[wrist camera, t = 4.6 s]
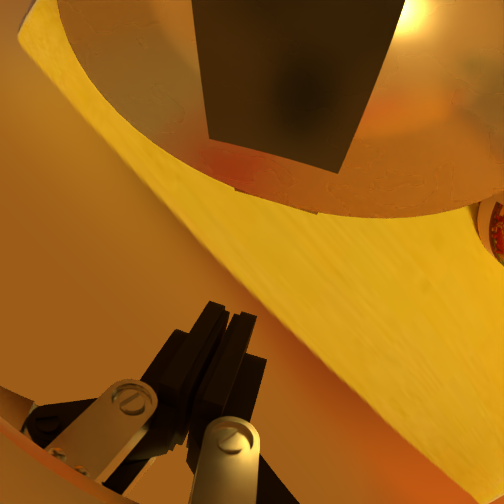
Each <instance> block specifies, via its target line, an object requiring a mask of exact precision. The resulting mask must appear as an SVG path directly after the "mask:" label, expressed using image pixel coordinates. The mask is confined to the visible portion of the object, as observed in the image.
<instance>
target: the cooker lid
mask: <svg viewBox="0 0 504 504" xmlns="http://www.w3.org/2000/svg"><path fill="white" fill-rule="evenodd" d="M57 3H58V8H59V13H60V18H61V21H62V24H63V27H64V30H65V33H66V36H67V38H68V41H69V43H70V45H71V47H72V49H73V51H74V53H75V55H76V57H77V59H78V61H79V63H80V64H81V66H82V68H83V69H84V71H85V72H86V74H87V75H88V77H89V79H90V80H91V81H92V83H93V84H94V85H95V86H96V88H97V89H98V90H99V92H100V93H101V94H102V95H103V97H104V98H105V99H106V100H107V101H108V102H109V103H110V104H111V105H112V106H113V107H114V108H115V110H116V111H117V112H118V113H119V114H120V115H121V116H123V117H124V118H125V119H126V120H127V121H128V122H129V123H130V124H131V125H132V126H133V127H135V128H136V129H137V130H138V131H139V132H141V133H142V134H143V135H145V136H146V137H147V138H148V139H150V140H151V141H152V142H153V143H155V144H156V145H158V146H159V147H161V148H162V149H164V150H165V151H167V152H168V153H169V154H171V155H172V156H174V157H176V158H177V159H179V160H181V161H182V162H184V163H186V164H187V165H189V166H191V167H193V168H195V169H196V170H198V171H200V172H202V173H204V174H206V175H208V176H210V177H212V178H214V179H216V180H218V181H221V182H223V183H225V184H227V185H230V186H232V187H234V188H235V191H238V192H242V193H245V194H249V195H253V196H256V197H259V198H263V199H266V200H270V201H273V202H277V203H280V204H283V205H287V206H290V207H293V208H296V209H300V210H303V211H306V212H309V213H313V214H316V215H317V213H318V212H319V213H326V214H333V215H340V216H349V217H361V218H403V217H416V216H423V215H431V214H437V213H441V212H446V211H450V210H455V209H459V208H462V207H465V206H468V205H471V204H474V203H477V202H480V201H482V200H484V199H486V198H489V197H491V196H493V195H495V194H497V193H500V192H501V191H503V190H504V0H57Z"/></svg>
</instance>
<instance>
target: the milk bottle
mask: <svg viewBox="0 0 504 504" xmlns="http://www.w3.org/2000/svg"><path fill="white" fill-rule="evenodd" d="M477 223H478V232H479V236H480V239H481V242H482V244H483V245H484V247H485V248H486V249H487V251H488V252H489V253H490V254H491V255H492V256H493V257H494V258H495V259H497V260H498V261H499V262H500V263H501V264H502V265H503V266H504V190H503V191H501V192H500V193H497V194H495V195H493V196H491V197H489V198H486V199H484V200H482V201H481V203H480V206H479V210H478V218H477Z"/></svg>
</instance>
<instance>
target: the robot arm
mask: <svg viewBox="0 0 504 504" xmlns="http://www.w3.org/2000/svg"><path fill="white" fill-rule="evenodd" d="M229 314H230V312H228V311H225V306H224V305H221V304H218V303H215V302H211V301H209V302H208V304H207V305H206V307H205V308H204V310H203V312H202V313H201V315H200V316H199V318H198V320H197V321H196V323H195V324H194V326H193V328H192V329H191V331H190V333H186V332H183V331H181V330H178V329H176V330H174V332H173V333H172V334H171V336H170V337H169V338H168V340H167V342H166V343H165V344H164V346H163V347H162V349H161V350H160V351H159V353H158V354H157V356H156V357H155V359H154V360H153V362H152V363H151V364H150V366H149V367H148V369H147V370H146V372H145V373H144V375H143V376H142V378H141V379H140V381H139V380H133V379H125V380H121V381H118V382H116V383H114V384H113V385H111V386H110V387H109V388H108V389H107V390H106V391H105V392H104V393H103V394H102V395H101V396H100V397H99V398H94V399H87V400H80V401H73V402H66V403H57V404H48V405H43V406H38V405H36V404H35V402H34V401H33V400H30V399H28V398H25V397H23V396H21V395H18V394H16V393H14V392H12V391H10V390H8V389H5V388H4V387H2V386H0V504H139V503H137V502H134V501H132V500H130V499H128V498H126V497H127V495H128V494H129V493H130V492H131V490H132V489H133V488H134V486H135V485H136V484H137V483H138V481H139V480H140V479H141V478H142V476H143V475H144V474H145V472H146V471H147V470H148V468H149V467H150V466H151V465H152V463H153V462H154V461H155V459H156V457H157V456H159V455H163V454H166V453H167V452H168V450H171V451H173V449H174V447H175V445H176V444H179V445H182V444H183V442H184V440H185V438H186V435H187V433H188V431H189V434H188V440H187V446H186V447H187V448H188V454H187V459H186V462H187V464H188V465H189V467H190V469H191V471H192V472H193V474H194V478H193V482H192V487H191V492H190V497H189V502H188V504H300V503H299V502H298V501H297V500H296V499H295V498H294V496H293V495H292V494H291V493H290V491H288V489H287V488H286V487H285V485H284V484H283V483H282V482H281V480H280V479H279V478H278V477H277V475H276V474H275V473H274V471H273V470H272V469H271V468H270V466H269V465H268V464H267V462H266V461H265V460H264V459H263V457H262V456H261V455H260V453H259V447H260V441H259V435H258V433H257V431H256V429H255V428H254V427H253V426H252V425H251V424H250V419H251V416H252V412H253V409H254V405H255V402H256V398H257V394H258V391H259V388H260V384H261V380H262V377H263V373H264V369H265V365H266V362H267V359H264V358H260V357H257V356H254V355H250V354H247V353H246V351H247V348H248V344H249V341H250V338H251V335H252V331H253V328H254V325H255V322H256V318H257V316H255V315H252V314H249V313H245V312H241V314H240V315H238V314H234V315H233V317H232V319H231V321H230V323H229V325H228V328H227V330H226V327H227V323H228V318H229ZM225 331H226V332H225Z"/></svg>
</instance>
